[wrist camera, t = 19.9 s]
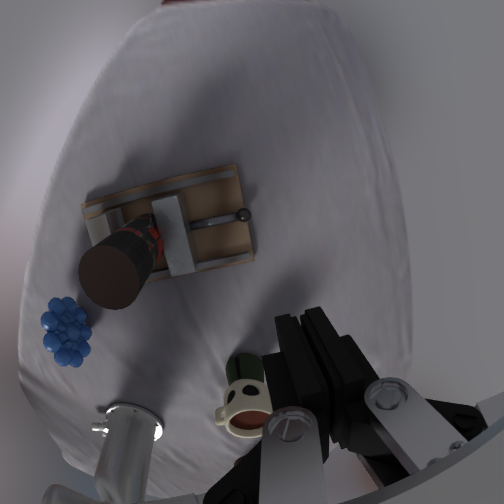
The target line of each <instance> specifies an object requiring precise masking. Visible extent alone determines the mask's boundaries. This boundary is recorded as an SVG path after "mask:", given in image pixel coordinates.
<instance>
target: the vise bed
mask: <svg viewBox="0 0 504 504" xmlns="http://www.w3.org/2000/svg"><path fill="white" fill-rule="evenodd" d="M182 191H183V192H184V196H185V201H186V205H187V209H188V214H189V218H190V221H195V220H199V219H204V218H208V217H213V216H218V215H223V214H227V213H232V212H237V211H238V210H239V209H241V208H244V203H243V198H242V192H241V187H240V182H239V177H238V172H237V167H236V164H231V165H226V166H221V167H216V168H211V169H207V170H202V171H198V172H193V173H189V174H185V175H181V176H177V177H173V178H169V179H165V180H161V181H157V182H153V183H149V184H146V185H142V186H138V187H135V188H131V189H128V190H124V191H121V192H118V193H114V194H111V195H108V196H105V197H102V198H98V199H95V200H92V201H89V202H86V203H83V204H81V207H82V212H83V215H84V219H85V222H86V226H87V230H88V233H89V237H90V240H91V243H92V247H93V246H95V245H96V244H98V243H99V242H100V241H102V240H103V239H105V238H106V237H108V236H109V235H111V234H112V233H113V232H115V231H116V230H118V229H119V228H121V227H122V226H124V225H125V224H127V223H128V222H130V221H131V220H133V219H134V218H136V217H138V216H139V215H141V214H145V213H152V214H154V211H153V207H152V203H151V202H152V201H154V200H155V199H157V198H159V197H161V196H165V195H169V194H173V193H177V192H182ZM193 235H194V239H195V243H196V247H197V251H198V255H199V261H198V265H197V269H196V272H201V271H206V270H211V269H216V268H221V267H225V266H230V265H235V264H240V263H245V262H250V261H255V260H254V254H253V249H252V244H251V239H250V234H249V229H248V223H247V222H240V221H239V220H238V221H236V222H231V223H226V224H222V225H217V226H212V227H207V228H203V229H198V230H194V231H193ZM196 272H192V273H196ZM187 274H191V273H187ZM183 275H186V274H183ZM178 276H181V275H178ZM173 277H176V276H173ZM166 278H171V274H170V270H169V267H168V263H167V260H166V256H165V253H163V255H162V256H161V258H160V260H159V261H158V263H157V264H156V266H155V268H154V269H153V271H152V272H151V274H150V276H149V277H148V279H147V280H146V282H151V281H156V280H161V279H166ZM146 282H145V283H146Z"/></svg>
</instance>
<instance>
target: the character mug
mask: <svg viewBox="0 0 504 504" xmlns="http://www.w3.org/2000/svg"><path fill="white" fill-rule="evenodd" d="M226 375H227V379H228V383H229V387H228V388H227V390H226V391H225V394H224V406H223V407H220V408H217V409H216V411H215V423H216V425H224V424H225V426H226V428H227V430H228V432H230V433H231V434H233V435H234V436H238V437H242V438H255V437H260V436H262V428H263V423H264V421H265V420H266V418H267V417H268V416H269V415H270V414H271V413H273V410H272V405H271V400H270V395H269V391H268V387H267V386H266V385H265V384H264V368H263V364H262V362H261V361H260V360H259V358H258V357H256V356H254V355H251V354H240V355H239V360H237V361H236V362H235V360H234V357H232V358H231V359H230V360H229V361H228V362H227V365H226ZM222 413H224V417H225V418H222V416H221V414H222Z"/></svg>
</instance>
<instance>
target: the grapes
mask: <svg viewBox="0 0 504 504" xmlns="http://www.w3.org/2000/svg"><path fill="white" fill-rule="evenodd" d="M48 309H49V312H45V313H43V315H42V317H41V325H42V327H43V328H44V329H45V330H46V331H47V334H45V336H44V338H43V344H44V346H45V348H46V349H47V350H48V351H50V352H54V359H55V361H56V362H57V363H58V364H59V365H60V366H67V365H69V364H70V365H71V366H72V367H79V366H80V365H81V364H82V363H83V357H86V356H88V355H89V353H90V351H91V347H90V345H89V344H88V343H87V342H86V341H87V340H88V339H90V337H91V335H92V331H91V329H90V328H89V327H88V326H87V325H86V324H83V323H84V322H85V321H86V318H87V315H86V313H85V311H84V310H83V309H81V308H80V307H77V304H76V302H75V301H74V300H73V299H72V298H71V297H64V298H63V299H62V300H61V299H59V298H55V297H54V298H52V299H51V300H50V302H49V303H48Z"/></svg>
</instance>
